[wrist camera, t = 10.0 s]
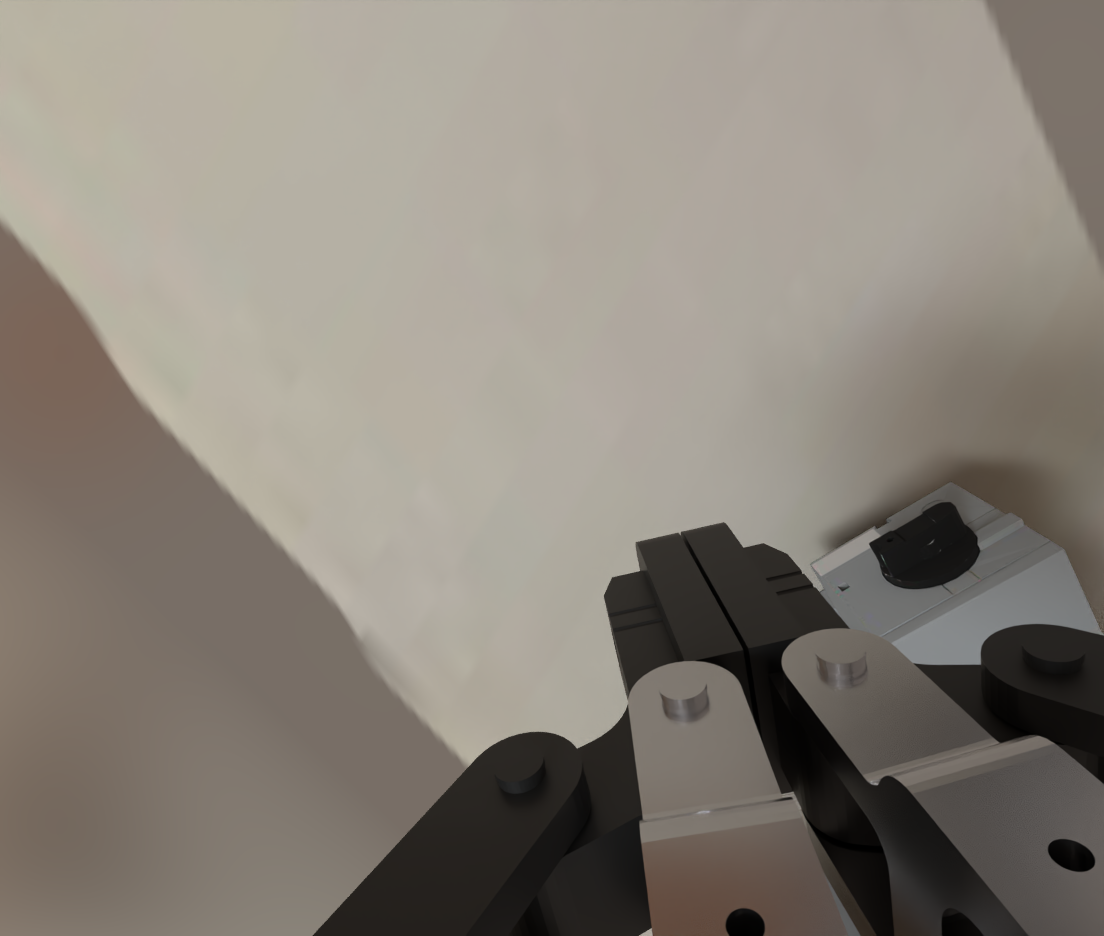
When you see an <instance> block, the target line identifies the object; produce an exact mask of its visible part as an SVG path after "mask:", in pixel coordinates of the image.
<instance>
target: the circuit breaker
mask: <svg viewBox="0 0 1104 936" xmlns="http://www.w3.org/2000/svg"><path fill="white" fill-rule="evenodd" d="M886 521H887V524H885V525H884V526H882V527H880V528H878V529H877V528H876V526H874V527H872V528H870V529H869V530H867V531H865V532H863V533H862V534H860V535H858V536H857V537H855V538H853V539H851V540H850V541H848V542H846V543H845V544H843V545H841V546H839V547H838V548H836V549H834V550H833V551H831V552H829V553H827V554H826V555H824V556H822V557H821V558H819V559H817V560H815V561H814V562H812V563H810V565H811V567H812V569H813V570H814V572H815V574H816V576H817V577H818V579H819V581H820V582H821V584H822V586H823V588H824V589H825V590H823V591H821V592H820V593H821V595H822V596H823V597H824V598H825V599H826V601H827V602H828V603H829V604H830V605H831V606H832V608H833V609H834V610H835V611H836V612H837V614H838V615H839V616H840V617H841V618H842V620H843V621H844V622H845V623H846V624H847V625H848V627H849V628H850V629H855V630H861V631H865V632H869V633H872V634H875V635H877V636H880V637H882V638H883V639H885V640H887V641H889V642H890V643H891V644H893V645H894V646H895V647H896V648H897V649H898V650H899V651H900V652H902V653H903V654H904V655H905V656H906V657H907V658H908V659H909V660H910V661H911V662H912V663H916V664H928V665H981V653H980V652H981V646H982V645H983V643H984V641H985V640H986V639H987V638H988V637H989V636H990V635H992V634H993V633H995V632H997V631H999V630H1002V629H1004V628H1008V627H1012V626H1017V625H1024V624H1050V625H1059V626H1064V627H1070V628H1074V629H1079V630H1083V631H1087V632H1091V633H1095V634H1100V635H1104V634H1103V633H1102V631H1101V630H1100V627H1099V625H1098V623H1097V621H1096V619H1095V616H1094V614H1093V612H1092V610H1091V607H1090V605H1089V603H1088V601H1087V599H1086V596H1085V594H1084V592H1083V590H1082V588H1081V585H1080V583H1079V581H1078V579H1077V577H1076V574H1075V572H1074V570H1073V568H1072V565H1071V563H1070V561H1069V559H1068V557H1067V554H1066V552H1065V550H1064V548H1062V547H1060V546H1059V545H1057V544H1056V543H1054V542H1053V541H1051V540H1049V539H1048V538H1046V537H1044V536H1042V535H1041V534H1039V533H1037V532H1036V531H1034V530H1032V529H1031V528H1029V527H1027V526H1025V524H1024V522H1023V520H1022V519H1021V518H1020V517H1018V516H1016V515H1014V514H1013V513H1011V512H1010V513H1008V514H1005V513H1003V512H1002V511H1000V510H998V509H997V508H995V507H993V506H992V505H990V504H988V503H986V502H985V501H983V500H981V499H980V498H978V497H976V496H975V495H973V494H971V493H969V492H968V491H966V490H964V489H963V488H961V487H959V486H958V485H956V484H954V483H952V482H949V483H948V484H946V485H944V486H942V487H941V488H939V489H937V490H936V491H934V492H932V493H930V494H929V495H927V496H925V497H923V498H922V499H920V500H918V501H917V502H915V503H913V504H911V505H910V506H908V507H906V508H905V509H903V510H901V511H899V512H898V513H896V514H894V515H893V516H891V517H889V518H887V519H886Z"/></svg>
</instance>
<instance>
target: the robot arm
mask: <svg viewBox="0 0 1104 936" xmlns="http://www.w3.org/2000/svg"><path fill="white" fill-rule="evenodd" d="M636 551H637V557H638V562H639V567H640V571H639V572H635V573H630V574H626V575H621V576H617V577H612V579H611V581H610V583H609V586H608V588H607V590H606V592H605V594H604V599H605V603H606V608H607V612H608V617H609V622H610V626H611V631H612V635H613V640H614V644H615V649H616V653H617V658H618V662H619V667H620V671H621V676H622V679H623V683H624V687H625V691H626V695H627V699H628V705H627V708H626V711H625V713H624V714H623V716H622V718H621V719H620V720H619V721H618V723H617V724H616V725H615V726H614V727H613V728H612V729H611V730H609V731H608V732H607V733H605V734H604V735H602V736H601V737H599V738H597V739H596V740H594V741H592V742H590V743H588V744H586V745H584V746H582V747H580V748H578V749H577V748H576V747H575V746H574V745H573V744H572V743H571V742H570V741H569V740H567V739H565V738H564V737H561V736H559V735H556V734H552V733H547V732H528V733H523V734H518V735H515V736H511V737H508V738H506V739H504V740H501V741H499V742H498V743H496V744H494V745H492V746H491V747H489V748H488V749H487V750H485V751H484V752H483V753H482V754H481V755H480V756H478V757H477V758H476V759H475V761H474V762H473V763H472V764H471V765H470V766H469V767H468V768H467V769H466V770H465V771H464V772H463V773H462V775H461V776H460V777H459V778H458V779H457V780H456V781H455V782H454V783H453V784H452V786H451V787H450V788H449V789H448V790H447V791H446V792H445V793H444V794H443V795H442V796H441V797H440V799H438V801H437V802H436V803H435V804H434V805H433V806H432V807H431V808H430V809H429V810H428V811H427V812H426V814H425V815H424V816H423V817H422V818H421V819H420V820H419V821H418V822H417V823H416V824H415V826H414V827H413V828H412V829H411V830H410V831H409V832H408V833H407V834H406V835H405V836H404V837H403V838H402V840H401V841H400V842H399V843H398V844H397V845H396V846H395V847H394V848H393V849H392V850H391V852H390V853H389V854H388V855H387V856H386V857H385V858H384V859H383V860H382V861H381V862H380V863H379V865H378V866H377V867H376V868H375V869H374V870H373V871H372V872H371V873H370V874H369V875H368V876H367V878H365V880H364V881H363V882H362V883H361V884H360V885H359V886H358V887H357V888H356V889H355V891H353V893H352V894H351V895H350V896H349V897H348V898H347V899H346V900H345V901H344V902H343V903H342V904H341V905H340V907H339V908H338V909H337V910H336V911H335V912H334V913H333V914H332V915H331V916H330V918H329V919H328V920H327V921H326V922H325V923H324V924H323V925H322V926H321V927H320V928H319V929H318V931H317V932H316V933H315V934H314V935H313V936H639V935H641V934H642V933H644V932H646V931H647V930H649V929H651V928H652V934H653V936H848V934H847V931H846V928H845V926H844V923H843V921H842V918H841V916H840V913H839V911H838V908H837V905H836V903H835V900H834V898H833V895H832V893H831V890H830V888H829V885H828V882H827V880H826V877H827V879H828V881H829V883H830V884H831V886H832V888H833V889H834V891H835V893H836V895H837V896H838V898H839V900H840V901H841V903H842V905H843V907H844V908H845V910H846V912H847V913H848V915H849V917H850V919H851V920H852V922H853V924H854V925H855V927H856V929H857V930H858V932H859V934H860V936H1104V635H1100V634H1095V633H1091V632H1087V631H1083V630H1079V629H1074V628H1070V627H1064V626H1059V625H1050V624H1024V625H1017V626H1012V627H1008V628H1004V629H1002V630H999V631H997V632H995V633H993V634H992V635H990V636H989V637H988V638H987V639H986V640H985V641H984V643H983V645H982V646H981V652H980V653H981V665H928V664H916V663H912V662H911V661H910V660H909V659H908V658H907V657H906V656H905V655H904V654H903V653H902V652H900V651H899V650H898V649H897V648H896V647H895V646H894V645H893V644H891V643H890V642H889V641H887V640H885V639H883V638H882V637H880V636H877V635H875V634H872V633H869V632H865V631H861V630H855V629H850V628H849V627H848V625H847V624H846V623H845V622H844V621H843V620H842V618H841V617H840V616H839V615H838V614H837V612H836V611H835V610H834V609H833V608H832V606H831V605H830V604H829V603H828V602H827V601H826V599H825V598H824V597H823V596H822V595H821V593H820V592H819V591H818V590H817V589H816V587H815V588H814V587H813V584H812V583H811V582H810V580H809V579H808V578H807V577H806V576H805V574H802V572H801V570H800V568H799V567H798V566H797V565H796V564H795V562H794V561H793V560H792V559H791V558H790V557H789V555H788V554H786V553H784V552H781V551H779V550H777V549H775V548H773V547H770V546H768V545H766V544H764V543H763V544H758V545H754V546H750V547H745V548H743V547H742V545H741V544H740V542H739V541H738V540H737V538H736V537H735V535H734V534H733V533H732V531H731V530H730V529H729V527H728V526H727V524H726V523H724V522H723V523H719V524H714V525H710V526H705V527H701V528H697V529H692V530H688V531H683V532H681V536H680V534H679V533H675V534H671V535H666V536H662V537H657V538H653V539H648V540H644V541H640V542H636ZM790 792H794V794H795V796H796V798H797V800H798V802H799V804H800V806H801V813H802V816H801V814H800V811H799V809H798V807H797V805H796V803H795V801H794V800H793V798H792V797H785V798H783V797H782V794H786V793H790ZM824 874H825V875H824ZM825 876H826V877H825Z"/></svg>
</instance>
